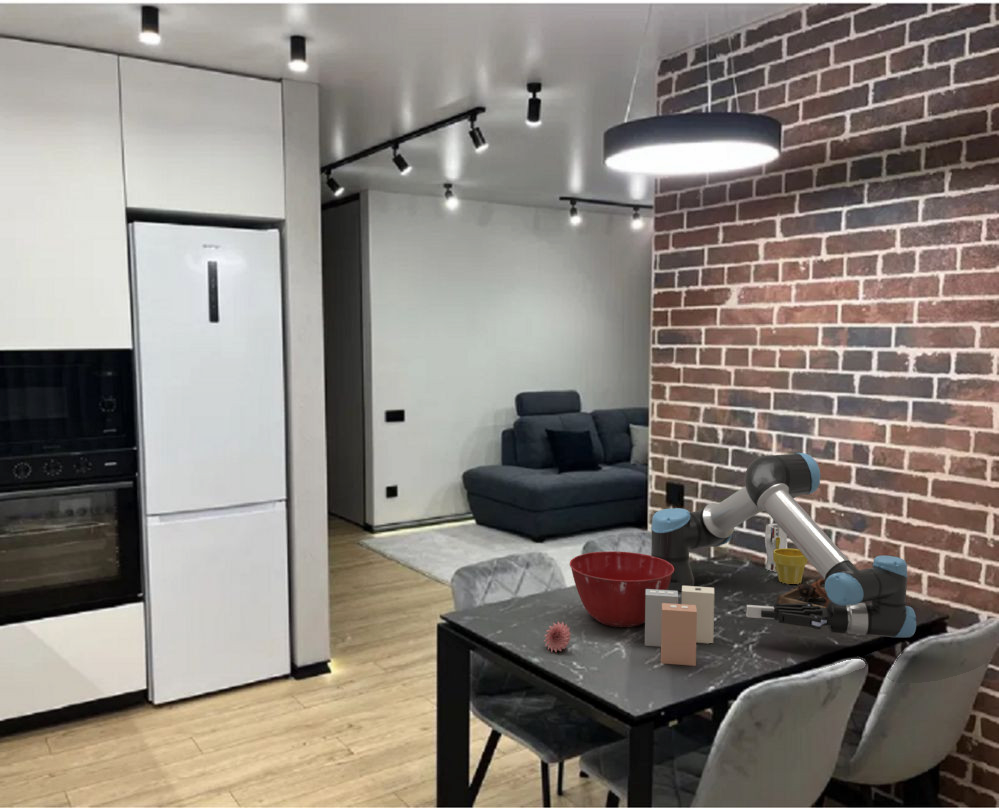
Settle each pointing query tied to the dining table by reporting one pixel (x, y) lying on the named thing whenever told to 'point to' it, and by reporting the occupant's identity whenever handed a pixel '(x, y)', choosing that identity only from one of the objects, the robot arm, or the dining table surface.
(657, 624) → the grey block
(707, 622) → the cream block
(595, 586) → the mixing bowl
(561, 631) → the flower
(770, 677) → the dining table surface
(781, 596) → the walnut frame
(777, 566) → the plant pot
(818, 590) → the pottery mug
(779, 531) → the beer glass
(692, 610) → the terracotta block
